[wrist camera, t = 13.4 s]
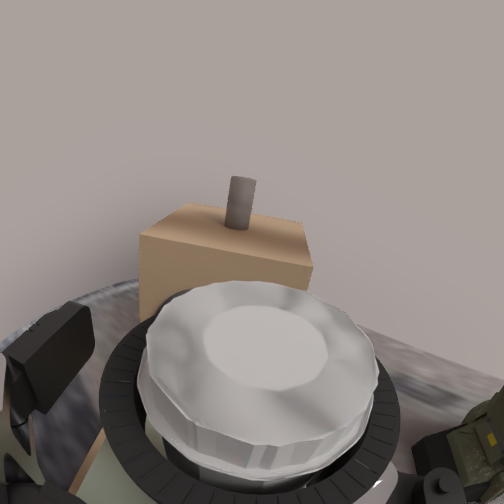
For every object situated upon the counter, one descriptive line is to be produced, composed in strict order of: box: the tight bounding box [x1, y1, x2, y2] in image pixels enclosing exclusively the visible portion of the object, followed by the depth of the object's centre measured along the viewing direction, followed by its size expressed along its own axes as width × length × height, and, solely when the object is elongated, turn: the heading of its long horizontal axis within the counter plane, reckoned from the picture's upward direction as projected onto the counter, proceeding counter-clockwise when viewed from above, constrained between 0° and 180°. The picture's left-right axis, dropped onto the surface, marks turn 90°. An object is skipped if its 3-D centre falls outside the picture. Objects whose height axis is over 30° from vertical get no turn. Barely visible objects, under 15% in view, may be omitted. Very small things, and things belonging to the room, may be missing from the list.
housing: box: [68, 176, 313, 504], centre depth 12 cm, size 16×9×12 cm, turn 174°
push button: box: [99, 281, 400, 504], centre depth 7 cm, size 7×5×10 cm
